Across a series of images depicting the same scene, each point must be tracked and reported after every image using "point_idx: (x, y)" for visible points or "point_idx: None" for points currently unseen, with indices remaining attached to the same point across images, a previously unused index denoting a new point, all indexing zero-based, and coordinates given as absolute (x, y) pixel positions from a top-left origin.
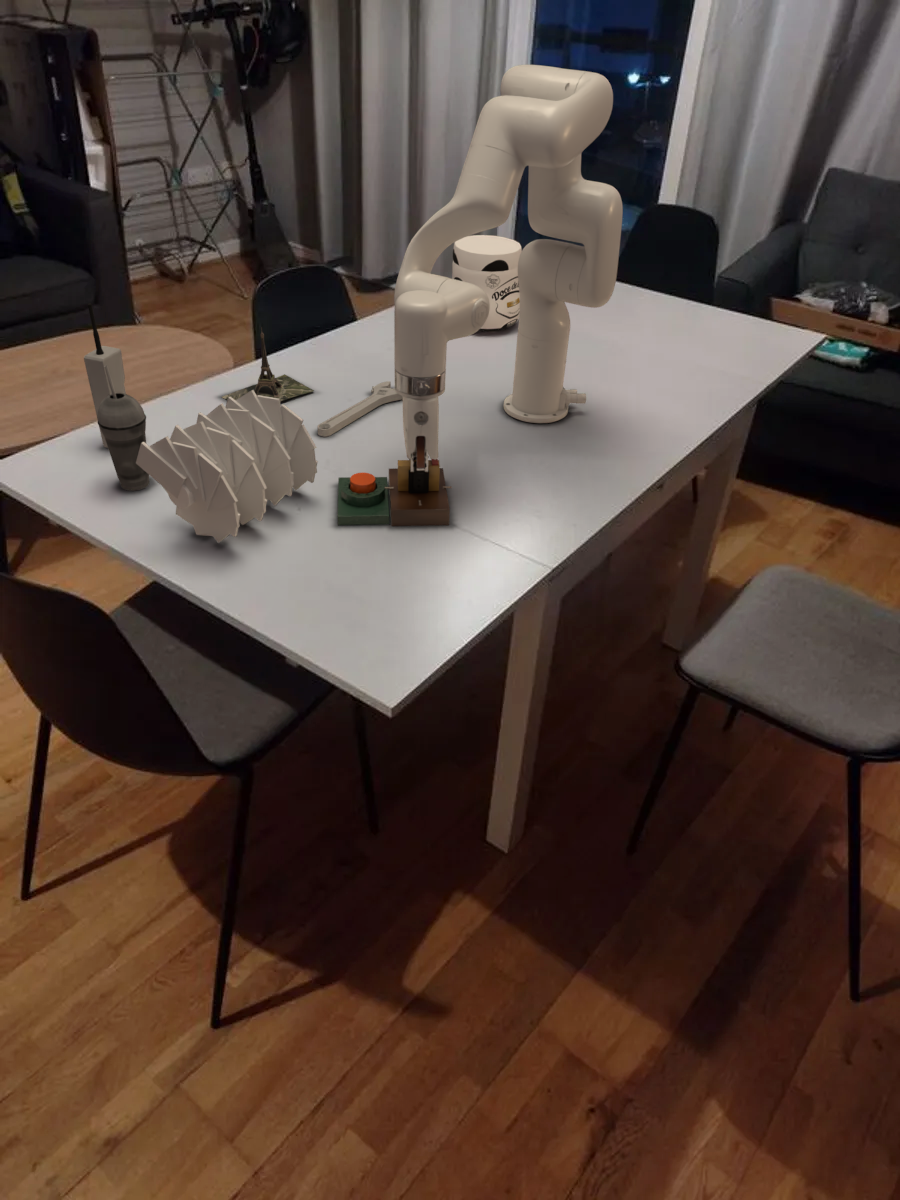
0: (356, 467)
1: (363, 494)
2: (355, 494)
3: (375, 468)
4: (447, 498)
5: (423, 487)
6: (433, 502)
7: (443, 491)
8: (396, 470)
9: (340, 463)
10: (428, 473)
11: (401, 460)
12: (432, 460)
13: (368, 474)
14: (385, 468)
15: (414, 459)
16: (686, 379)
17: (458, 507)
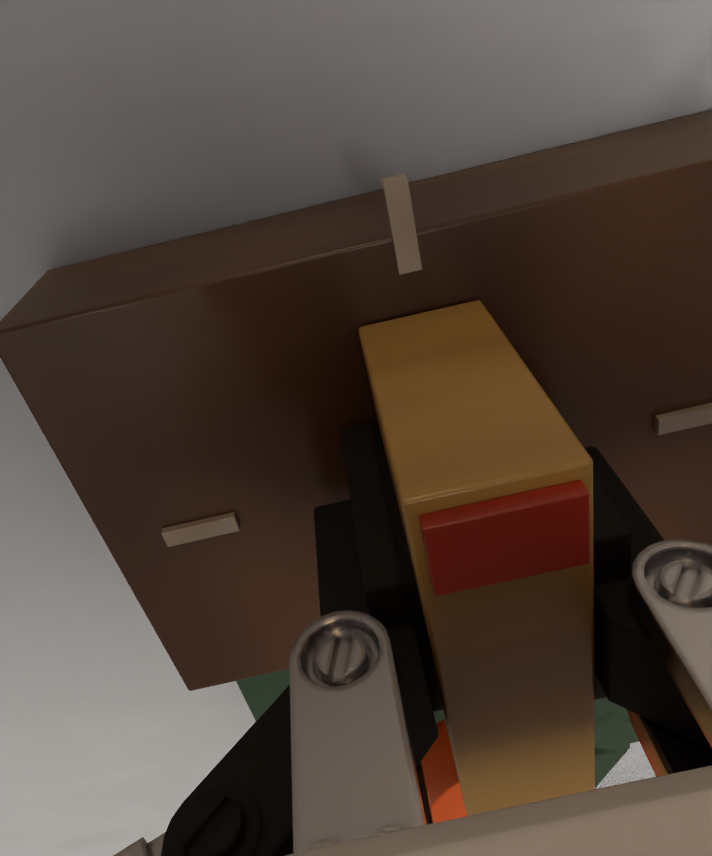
0: (77, 751)
1: (595, 734)
2: (595, 762)
3: (42, 685)
4: (623, 186)
5: (602, 460)
6: (689, 310)
7: (480, 250)
8: (199, 649)
9: (71, 806)
10: (619, 517)
11: (473, 800)
12: (484, 579)
13: (451, 803)
14: (13, 646)
15: (435, 725)
16: None
17: (417, 54)
